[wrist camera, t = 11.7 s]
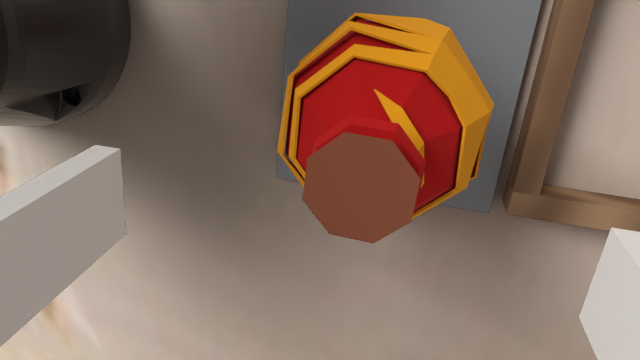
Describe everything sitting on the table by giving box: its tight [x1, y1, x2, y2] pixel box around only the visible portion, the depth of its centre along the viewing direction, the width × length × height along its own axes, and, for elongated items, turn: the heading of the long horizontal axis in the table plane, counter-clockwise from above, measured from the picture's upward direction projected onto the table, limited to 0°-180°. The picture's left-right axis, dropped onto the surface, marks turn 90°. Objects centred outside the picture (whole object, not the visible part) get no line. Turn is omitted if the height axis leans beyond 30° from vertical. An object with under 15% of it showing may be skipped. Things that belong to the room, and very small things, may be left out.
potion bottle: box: [277, 13, 494, 243], centre depth 24 cm, size 10×10×15 cm
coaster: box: [277, 0, 542, 213], centre depth 31 cm, size 14×14×1 cm
